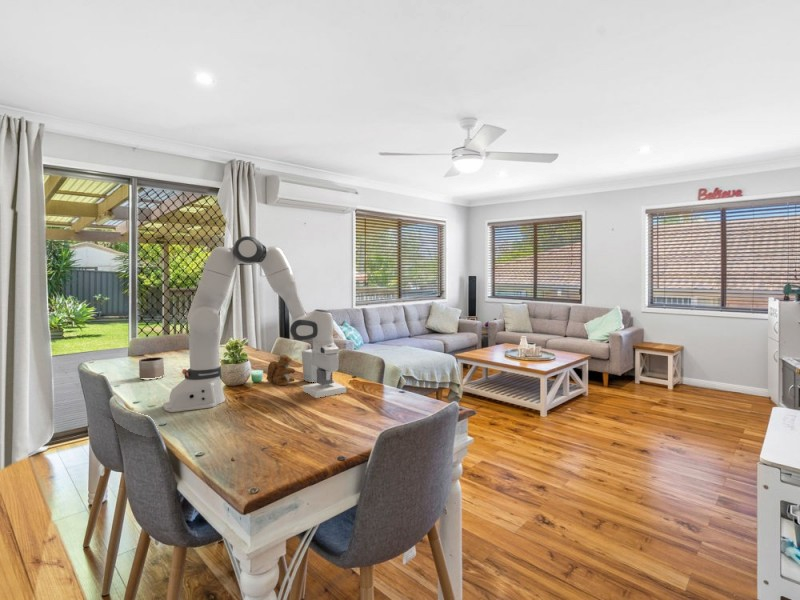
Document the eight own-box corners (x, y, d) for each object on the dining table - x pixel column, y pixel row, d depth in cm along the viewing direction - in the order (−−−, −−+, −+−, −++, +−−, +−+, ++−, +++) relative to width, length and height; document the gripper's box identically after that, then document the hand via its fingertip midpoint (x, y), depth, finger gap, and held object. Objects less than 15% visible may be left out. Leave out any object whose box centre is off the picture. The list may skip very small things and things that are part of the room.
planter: (134, 380, 219) (133, 360, 219) (152, 375, 230) (151, 356, 229) (151, 381, 216) (150, 361, 215) (169, 376, 226) (168, 357, 226)
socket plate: (316, 398, 183) (316, 390, 183) (302, 391, 195) (302, 383, 195) (346, 392, 191) (346, 385, 191) (331, 386, 203) (331, 379, 203)
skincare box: (322, 381, 212) (321, 350, 211) (311, 383, 208) (310, 352, 207) (312, 378, 218) (312, 348, 217) (302, 380, 214) (301, 349, 213)
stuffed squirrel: (287, 386, 204) (287, 357, 203) (260, 384, 208) (259, 356, 207) (298, 380, 214) (297, 353, 213) (272, 379, 217) (271, 352, 217)
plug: (321, 385, 190) (321, 366, 189) (316, 382, 194) (316, 364, 193) (332, 383, 192) (332, 365, 192) (327, 381, 196) (326, 363, 196)
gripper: (307, 344, 199) (307, 375, 199) (327, 350, 182) (328, 384, 183) (320, 343, 202) (320, 373, 203) (340, 349, 186) (341, 381, 186)
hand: (324, 378), depth 193 cm, fingers closed on plug, 5 cm apart
